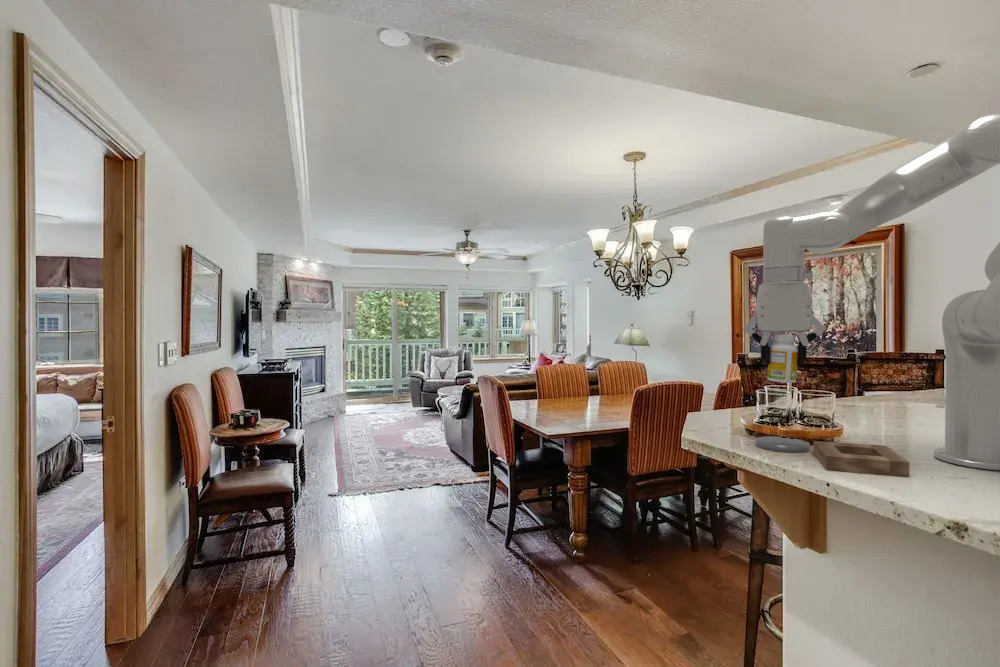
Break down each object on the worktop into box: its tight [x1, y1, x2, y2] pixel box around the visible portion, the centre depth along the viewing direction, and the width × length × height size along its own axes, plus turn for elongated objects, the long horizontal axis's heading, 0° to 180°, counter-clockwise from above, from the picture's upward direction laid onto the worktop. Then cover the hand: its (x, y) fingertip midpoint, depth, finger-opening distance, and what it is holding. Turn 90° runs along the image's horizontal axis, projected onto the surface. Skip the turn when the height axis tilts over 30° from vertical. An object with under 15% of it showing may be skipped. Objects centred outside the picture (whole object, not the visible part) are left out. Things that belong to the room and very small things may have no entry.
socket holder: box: [812, 440, 911, 478], centre depth 95 cm, size 12×12×2 cm
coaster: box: [754, 435, 811, 454], centre depth 108 cm, size 10×10×1 cm
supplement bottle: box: [766, 333, 799, 384], centre depth 107 cm, size 5×5×10 cm
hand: (783, 363), depth 107 cm, fingers closed on supplement bottle, 5 cm apart
